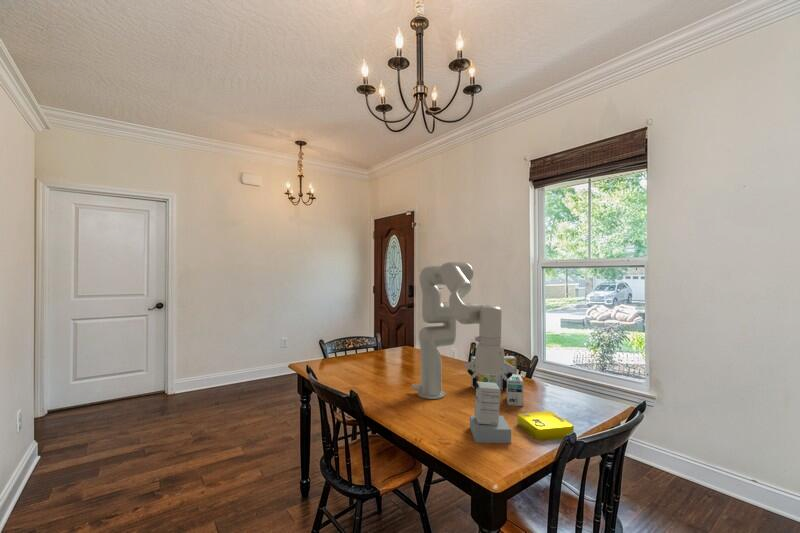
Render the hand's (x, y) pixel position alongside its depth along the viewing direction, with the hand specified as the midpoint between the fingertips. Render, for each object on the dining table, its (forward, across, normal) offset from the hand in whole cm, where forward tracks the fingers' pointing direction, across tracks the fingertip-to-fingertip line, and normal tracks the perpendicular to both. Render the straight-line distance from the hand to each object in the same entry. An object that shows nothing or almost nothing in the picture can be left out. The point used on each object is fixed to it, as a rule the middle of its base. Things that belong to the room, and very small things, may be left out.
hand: (489, 389), depth 136 cm
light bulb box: (+17, +10, +36) cm, 41 cm away
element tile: (+16, +20, +8) cm, 27 cm away
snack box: (+17, +2, +54) cm, 57 cm away
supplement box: (+11, -1, 0) cm, 11 cm away
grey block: (+16, 0, -1) cm, 16 cm away
